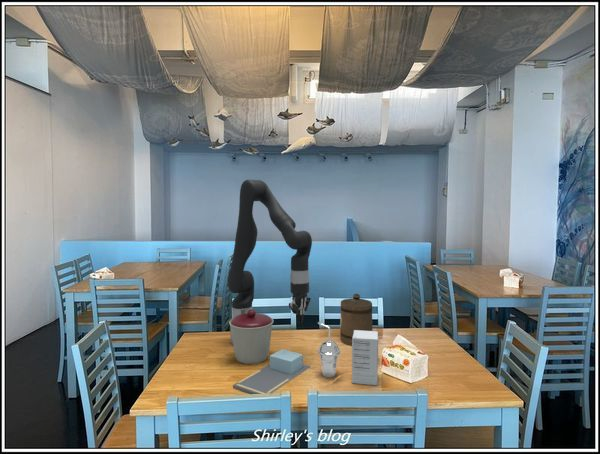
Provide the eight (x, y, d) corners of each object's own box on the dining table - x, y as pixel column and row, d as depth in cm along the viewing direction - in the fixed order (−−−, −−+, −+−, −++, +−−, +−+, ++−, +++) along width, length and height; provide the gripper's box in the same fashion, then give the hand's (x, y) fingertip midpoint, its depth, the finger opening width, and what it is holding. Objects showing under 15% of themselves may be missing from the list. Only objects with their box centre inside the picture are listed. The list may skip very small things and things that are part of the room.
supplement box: (377, 386, 142) (378, 339, 140) (351, 383, 144) (351, 338, 142) (377, 374, 151) (378, 330, 150) (353, 372, 153) (353, 329, 152)
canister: (227, 354, 170) (226, 306, 169) (268, 349, 176) (268, 302, 174) (233, 372, 153) (232, 318, 152) (278, 366, 159) (278, 314, 157)
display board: (232, 387, 141) (232, 384, 141) (280, 360, 164) (280, 357, 164) (266, 399, 133) (266, 395, 132) (311, 369, 156) (311, 365, 156)
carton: (269, 368, 154) (269, 355, 154) (282, 361, 161) (282, 349, 161) (291, 374, 149) (291, 361, 148) (302, 366, 155) (302, 354, 155)
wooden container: (354, 332, 197) (354, 288, 195) (378, 340, 186) (379, 294, 185) (333, 340, 187) (333, 293, 185) (358, 348, 176) (358, 300, 175)
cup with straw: (324, 384, 143) (324, 329, 142) (313, 373, 152) (313, 322, 150) (344, 379, 147) (344, 326, 145) (332, 370, 155) (333, 319, 153)
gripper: (301, 277, 168) (301, 317, 169) (282, 282, 157) (282, 325, 158) (316, 279, 164) (316, 320, 165) (298, 285, 153) (298, 329, 154)
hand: (300, 323), depth 162 cm, fingers closed
